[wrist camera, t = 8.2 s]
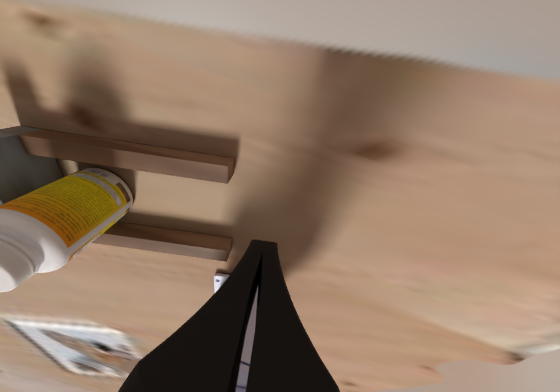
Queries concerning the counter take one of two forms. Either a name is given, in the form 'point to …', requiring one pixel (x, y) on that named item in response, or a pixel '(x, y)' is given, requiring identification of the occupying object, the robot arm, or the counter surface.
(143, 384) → the robot arm
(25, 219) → the supplement bottle
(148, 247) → the guide track
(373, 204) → the counter surface
